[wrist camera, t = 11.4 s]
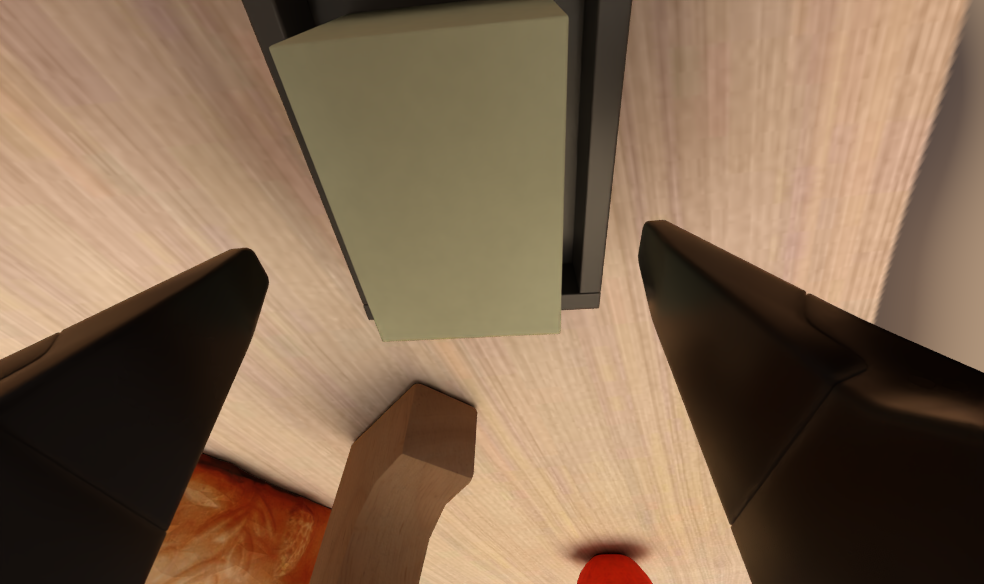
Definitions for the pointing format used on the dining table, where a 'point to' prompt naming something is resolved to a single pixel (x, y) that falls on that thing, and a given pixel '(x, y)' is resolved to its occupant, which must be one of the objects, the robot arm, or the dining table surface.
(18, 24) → the dining table surface
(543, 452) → the dining table surface
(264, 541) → the ceramic vessel
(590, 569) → the apple
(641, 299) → the dining table surface
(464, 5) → the olive green block
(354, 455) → the wooden block
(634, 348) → the dining table surface
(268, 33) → the mount
